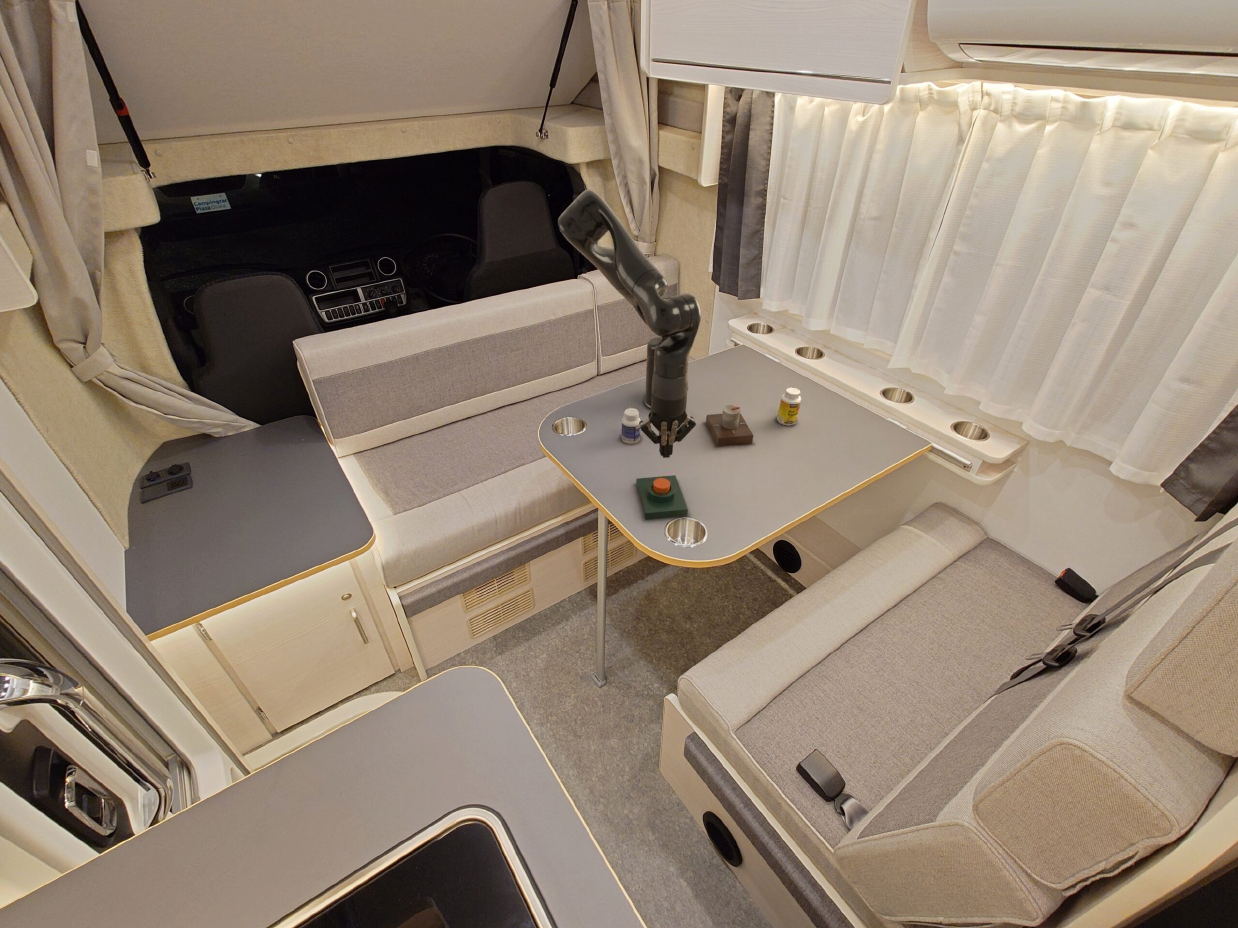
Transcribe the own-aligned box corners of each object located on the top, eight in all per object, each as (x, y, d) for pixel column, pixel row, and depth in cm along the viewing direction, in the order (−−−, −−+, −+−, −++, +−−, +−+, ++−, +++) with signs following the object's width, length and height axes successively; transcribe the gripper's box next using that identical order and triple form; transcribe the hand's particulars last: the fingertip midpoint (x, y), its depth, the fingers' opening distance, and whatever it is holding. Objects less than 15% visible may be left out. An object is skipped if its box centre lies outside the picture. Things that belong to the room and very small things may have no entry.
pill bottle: (638, 445, 154) (639, 418, 149) (619, 443, 155) (620, 415, 150) (641, 434, 158) (642, 407, 153) (623, 432, 159) (623, 405, 154)
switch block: (636, 485, 140) (636, 472, 138) (674, 481, 142) (675, 469, 139) (645, 520, 130) (645, 507, 128) (687, 516, 131) (688, 503, 129)
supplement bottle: (784, 428, 162) (791, 397, 156) (772, 418, 166) (779, 388, 160) (800, 423, 164) (807, 393, 157) (787, 414, 168) (794, 384, 161)
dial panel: (705, 423, 163) (706, 414, 162) (738, 420, 165) (739, 411, 163) (717, 446, 154) (718, 437, 152) (751, 444, 155) (753, 434, 153)
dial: (725, 430, 155) (727, 414, 152) (718, 421, 159) (720, 405, 156) (741, 427, 156) (743, 411, 153) (733, 418, 160) (735, 402, 157)
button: (651, 484, 135) (652, 478, 134) (667, 482, 135) (668, 477, 134) (654, 494, 132) (655, 489, 131) (671, 493, 132) (671, 487, 131)
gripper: (695, 379, 121) (689, 444, 132) (635, 383, 120) (634, 448, 130) (704, 396, 116) (697, 463, 126) (642, 401, 114) (640, 468, 125)
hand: (665, 455), depth 128 cm, fingers closed
